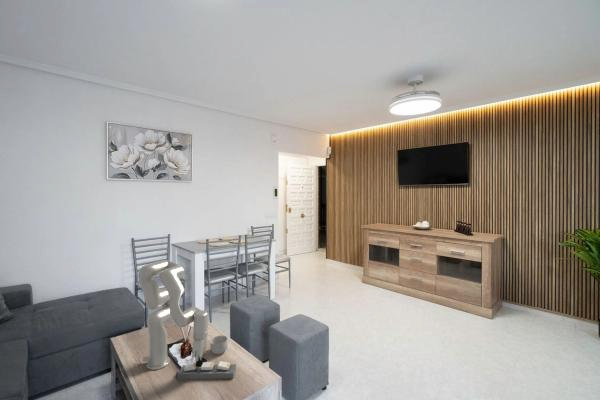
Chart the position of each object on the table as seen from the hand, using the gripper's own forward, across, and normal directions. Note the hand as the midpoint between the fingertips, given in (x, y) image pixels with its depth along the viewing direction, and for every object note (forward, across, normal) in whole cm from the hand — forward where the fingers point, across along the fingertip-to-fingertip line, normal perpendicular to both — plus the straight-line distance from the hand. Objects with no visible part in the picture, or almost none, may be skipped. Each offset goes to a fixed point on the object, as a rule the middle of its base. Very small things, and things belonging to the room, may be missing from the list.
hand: (199, 365), depth 159 cm
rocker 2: (0, 0, +5) cm, 5 cm away
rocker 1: (+1, 0, -4) cm, 4 cm away
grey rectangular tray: (+5, 0, +5) cm, 7 cm away
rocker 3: (0, 0, +14) cm, 14 cm away
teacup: (+5, -24, +5) cm, 25 cm away
